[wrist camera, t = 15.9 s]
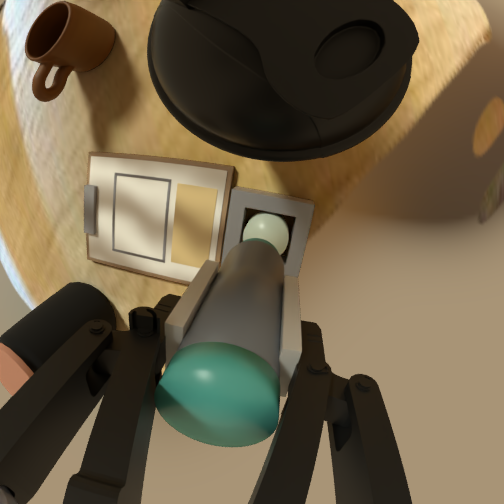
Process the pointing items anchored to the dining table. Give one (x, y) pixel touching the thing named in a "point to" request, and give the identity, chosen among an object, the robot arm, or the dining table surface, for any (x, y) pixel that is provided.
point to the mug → (66, 45)
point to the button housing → (275, 204)
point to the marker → (230, 354)
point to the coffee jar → (49, 331)
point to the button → (268, 229)
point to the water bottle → (281, 72)
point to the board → (155, 213)
